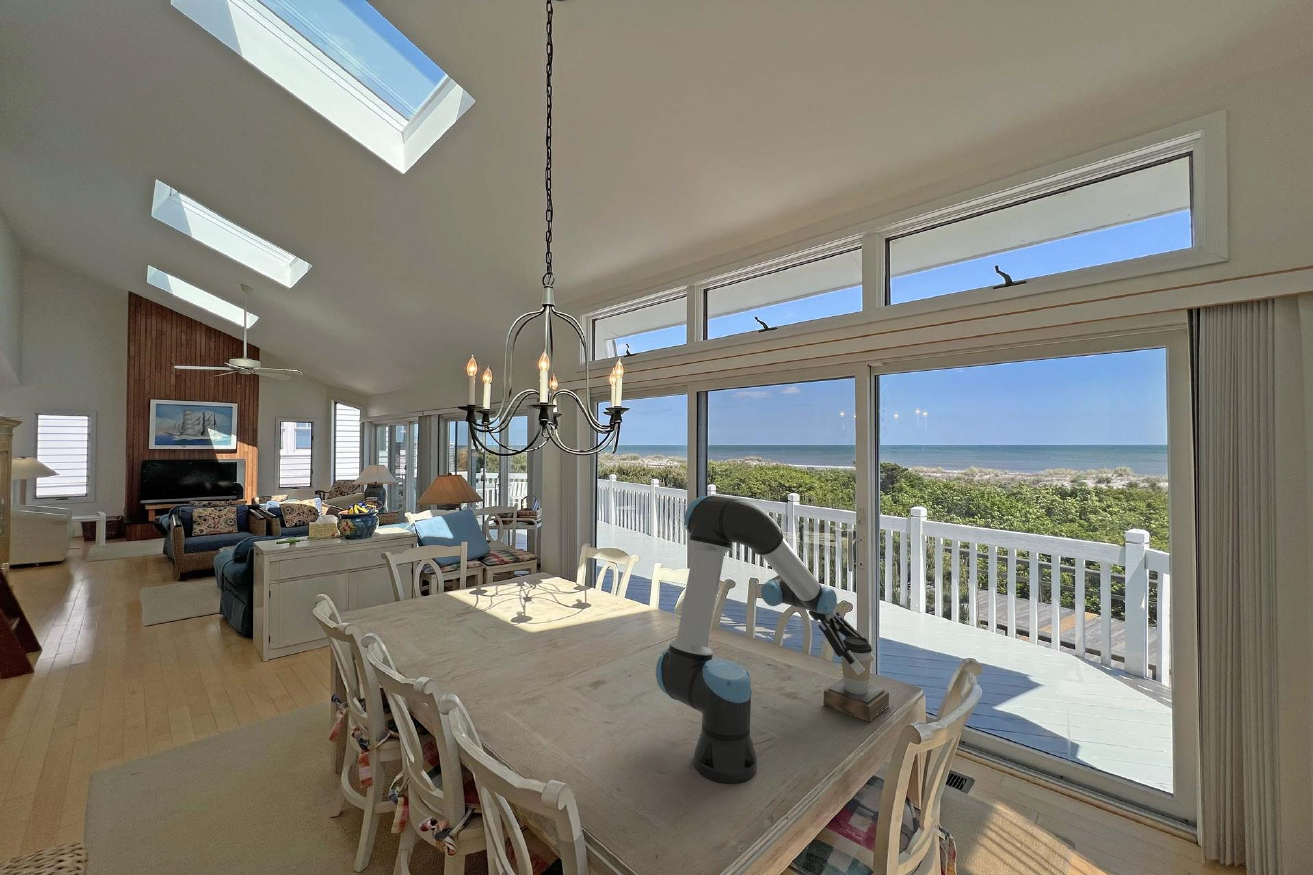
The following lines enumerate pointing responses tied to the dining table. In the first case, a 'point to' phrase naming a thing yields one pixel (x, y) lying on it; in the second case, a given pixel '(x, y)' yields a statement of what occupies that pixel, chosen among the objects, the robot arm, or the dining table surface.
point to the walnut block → (856, 700)
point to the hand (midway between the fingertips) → (866, 666)
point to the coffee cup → (863, 655)
